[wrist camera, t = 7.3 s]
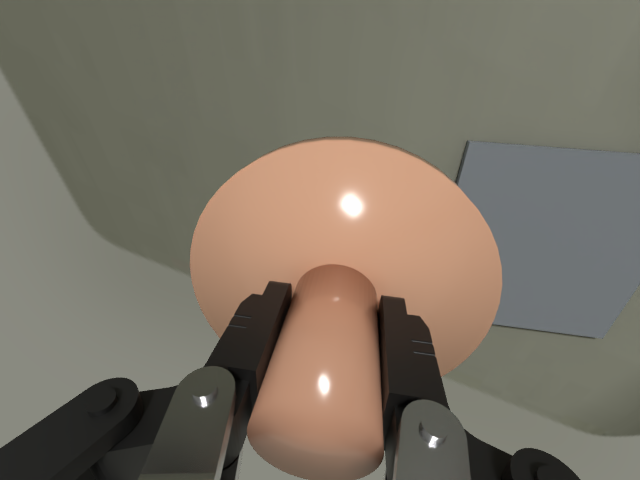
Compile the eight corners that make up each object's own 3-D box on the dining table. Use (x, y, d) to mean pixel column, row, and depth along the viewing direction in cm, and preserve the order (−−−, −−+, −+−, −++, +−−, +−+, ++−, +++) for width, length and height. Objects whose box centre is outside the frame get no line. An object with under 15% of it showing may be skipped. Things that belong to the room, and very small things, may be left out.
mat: (714, 159, 18) (723, 161, 17) (598, 333, 24) (602, 338, 24) (467, 140, 19) (469, 142, 19) (420, 310, 26) (421, 314, 25)
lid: (542, 150, 9) (811, 256, 3) (448, 394, 14) (498, 587, 9) (180, 125, 10) (-36, 177, 5) (219, 360, 15) (139, 511, 10)
